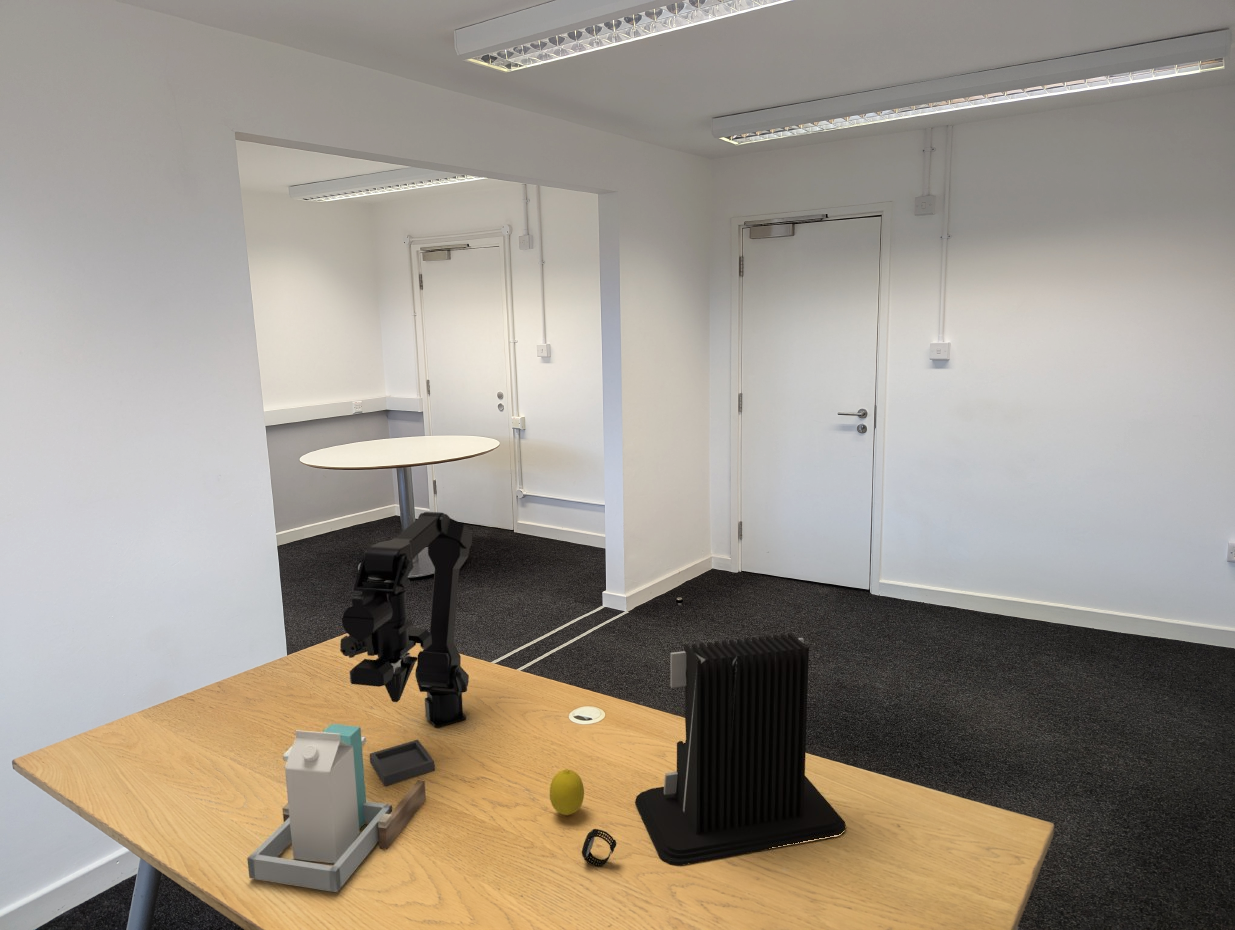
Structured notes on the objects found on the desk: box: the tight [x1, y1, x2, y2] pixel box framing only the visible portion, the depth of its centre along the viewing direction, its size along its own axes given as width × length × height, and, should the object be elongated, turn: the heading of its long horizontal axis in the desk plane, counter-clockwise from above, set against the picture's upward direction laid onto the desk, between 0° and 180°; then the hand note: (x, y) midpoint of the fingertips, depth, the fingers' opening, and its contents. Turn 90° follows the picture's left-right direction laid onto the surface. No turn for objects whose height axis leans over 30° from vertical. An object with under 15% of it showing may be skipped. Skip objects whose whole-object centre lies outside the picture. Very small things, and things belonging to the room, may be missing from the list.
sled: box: [246, 723, 393, 893], centre depth 120 cm, size 16×14×16 cm
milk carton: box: [284, 729, 360, 864], centre depth 121 cm, size 7×7×19 cm
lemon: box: [549, 768, 585, 817], centre depth 129 cm, size 6×6×8 cm
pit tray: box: [369, 739, 436, 787], centre depth 145 cm, size 9×9×2 cm
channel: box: [282, 779, 427, 850], centre depth 130 cm, size 13×18×4 cm
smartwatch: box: [581, 828, 617, 868], centre depth 118 cm, size 4×5×5 cm
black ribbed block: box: [634, 632, 847, 866], centre depth 127 cm, size 30×19×30 cm, turn 104°
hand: (395, 701), depth 142 cm, fingers closed
